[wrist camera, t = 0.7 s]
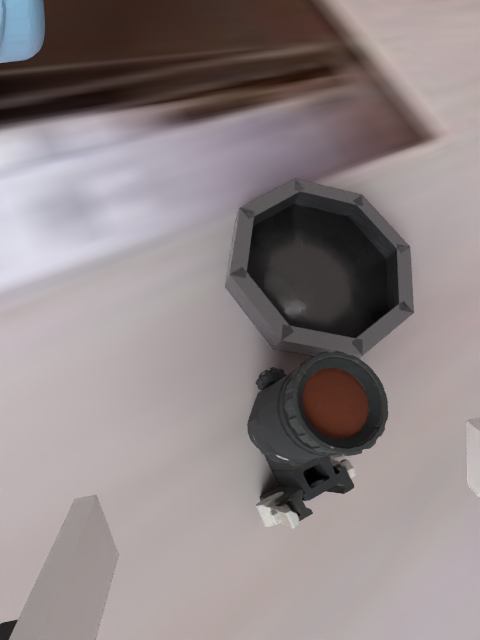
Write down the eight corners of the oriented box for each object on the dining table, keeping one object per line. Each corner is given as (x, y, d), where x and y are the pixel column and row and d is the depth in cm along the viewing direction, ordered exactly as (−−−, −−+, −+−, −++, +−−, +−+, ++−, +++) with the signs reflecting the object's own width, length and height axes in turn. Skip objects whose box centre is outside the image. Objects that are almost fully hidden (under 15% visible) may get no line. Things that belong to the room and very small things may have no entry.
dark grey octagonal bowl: (192, 245, 37) (195, 231, 35) (321, 176, 44) (330, 159, 42) (310, 395, 34) (320, 390, 32) (430, 296, 41) (446, 285, 38)
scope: (330, 565, 17) (238, 360, 19) (257, 524, 30) (207, 404, 32) (461, 480, 19) (364, 310, 22) (343, 476, 32) (290, 368, 35)
